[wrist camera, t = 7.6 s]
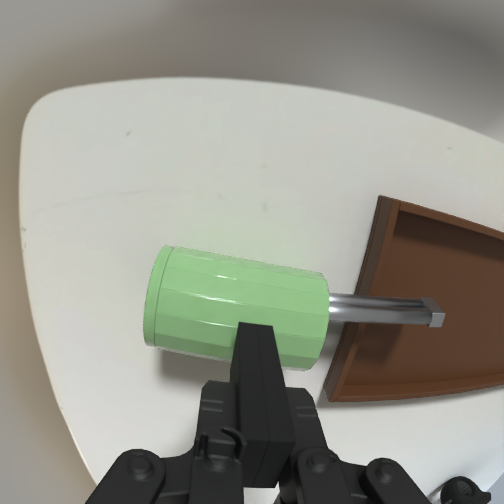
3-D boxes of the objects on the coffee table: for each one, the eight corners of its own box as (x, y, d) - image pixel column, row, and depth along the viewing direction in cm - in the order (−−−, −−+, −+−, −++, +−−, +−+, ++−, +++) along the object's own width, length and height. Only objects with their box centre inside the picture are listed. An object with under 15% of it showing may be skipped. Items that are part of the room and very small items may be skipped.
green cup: (136, 332, 13) (327, 362, 14) (165, 224, 16) (330, 256, 17) (152, 353, 18) (292, 375, 19) (170, 271, 21) (298, 294, 22)
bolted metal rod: (180, 307, 17) (442, 327, 16) (179, 292, 17) (447, 313, 16) (191, 291, 20) (429, 310, 18) (191, 276, 19) (432, 297, 18)
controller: (444, 474, 31) (468, 517, 21) (479, 469, 33) (500, 504, 23) (426, 490, 32) (447, 533, 22) (463, 484, 34) (482, 518, 24)
